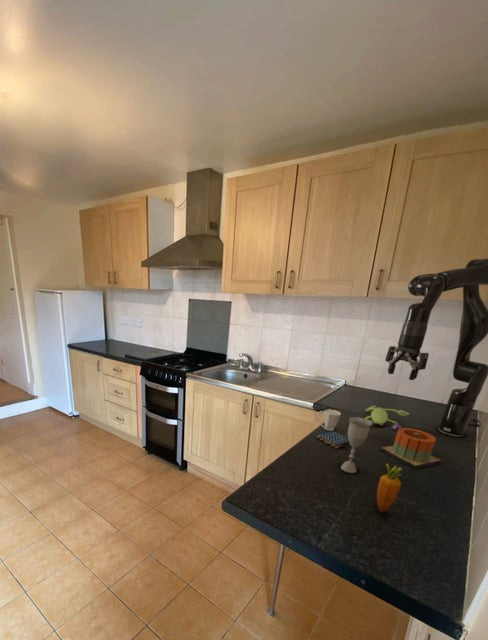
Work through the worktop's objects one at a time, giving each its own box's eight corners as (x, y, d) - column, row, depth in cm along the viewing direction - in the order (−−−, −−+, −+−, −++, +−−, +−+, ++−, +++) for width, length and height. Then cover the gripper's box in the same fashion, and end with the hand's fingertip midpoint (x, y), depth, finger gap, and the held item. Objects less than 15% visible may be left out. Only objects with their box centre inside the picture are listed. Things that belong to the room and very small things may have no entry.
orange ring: (409, 435, 132) (411, 426, 130) (440, 449, 121) (443, 439, 120) (387, 439, 127) (390, 429, 126) (418, 453, 117) (421, 443, 116)
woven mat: (336, 449, 129) (337, 444, 128) (315, 438, 137) (316, 433, 137) (354, 445, 133) (355, 440, 133) (332, 434, 142) (333, 430, 141)
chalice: (350, 476, 110) (362, 426, 104) (333, 466, 116) (344, 419, 110) (364, 471, 114) (377, 423, 108) (347, 462, 119) (358, 416, 113)
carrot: (367, 506, 95) (380, 460, 90) (383, 506, 95) (397, 460, 90) (378, 518, 90) (392, 470, 85) (395, 518, 91) (410, 470, 86)
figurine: (407, 420, 164) (411, 409, 162) (399, 436, 144) (403, 424, 142) (367, 410, 175) (370, 400, 173) (354, 423, 155) (357, 412, 153)
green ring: (406, 444, 133) (409, 435, 132) (436, 459, 123) (440, 449, 121) (385, 448, 129) (387, 439, 127) (415, 463, 118) (418, 453, 117)
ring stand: (404, 446, 135) (411, 424, 131) (440, 463, 123) (448, 439, 119) (380, 450, 130) (386, 427, 126) (414, 469, 117) (422, 443, 114)
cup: (333, 433, 143) (337, 416, 140) (311, 426, 149) (315, 409, 147) (339, 429, 148) (343, 412, 145) (318, 422, 154) (321, 406, 152)
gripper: (439, 336, 115) (426, 381, 120) (401, 330, 127) (390, 371, 133) (425, 336, 112) (412, 382, 118) (388, 330, 125) (377, 372, 130)
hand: (400, 376), depth 125 cm, fingers open, 8 cm apart
